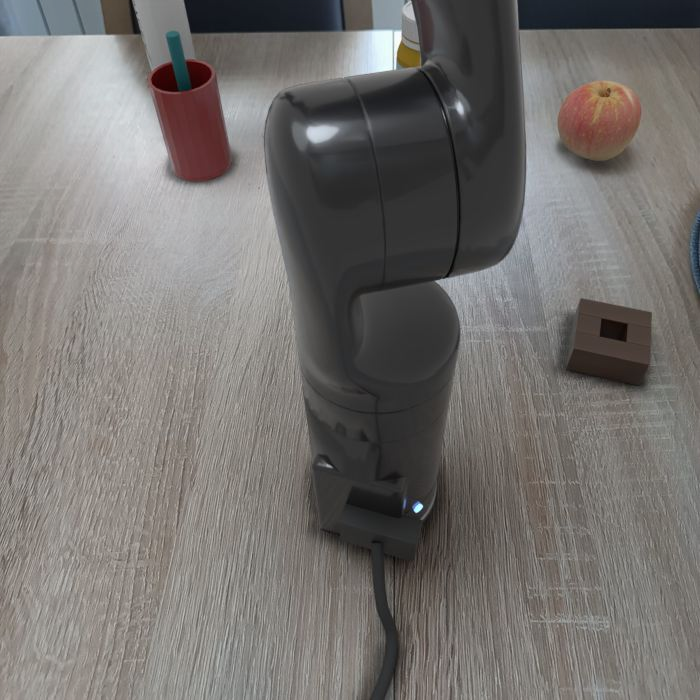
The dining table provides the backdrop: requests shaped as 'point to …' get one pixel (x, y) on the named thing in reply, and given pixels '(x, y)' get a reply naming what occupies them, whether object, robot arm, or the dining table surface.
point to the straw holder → (610, 341)
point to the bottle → (408, 40)
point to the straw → (178, 61)
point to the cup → (191, 121)
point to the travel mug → (163, 28)
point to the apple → (599, 120)
